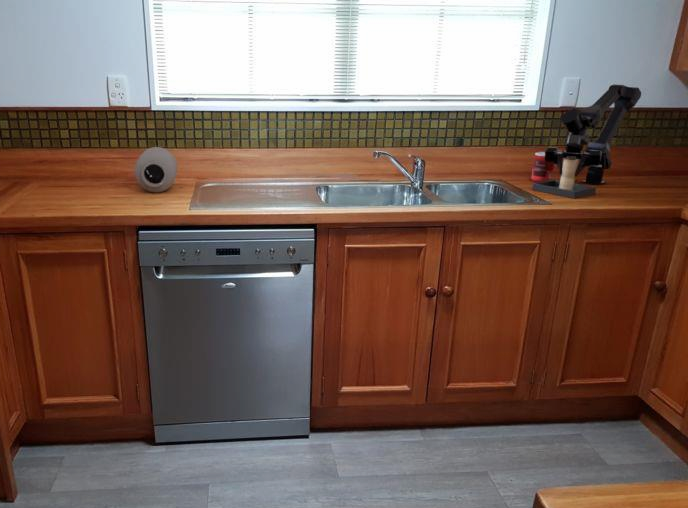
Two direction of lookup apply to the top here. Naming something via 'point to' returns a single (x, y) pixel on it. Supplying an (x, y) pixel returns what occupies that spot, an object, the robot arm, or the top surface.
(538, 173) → the canned food
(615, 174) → the top surface
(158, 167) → the grey egg shaped device
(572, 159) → the pepper mill
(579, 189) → the tray
